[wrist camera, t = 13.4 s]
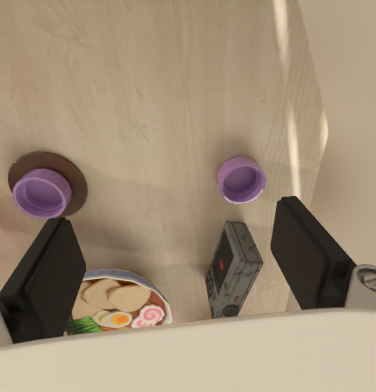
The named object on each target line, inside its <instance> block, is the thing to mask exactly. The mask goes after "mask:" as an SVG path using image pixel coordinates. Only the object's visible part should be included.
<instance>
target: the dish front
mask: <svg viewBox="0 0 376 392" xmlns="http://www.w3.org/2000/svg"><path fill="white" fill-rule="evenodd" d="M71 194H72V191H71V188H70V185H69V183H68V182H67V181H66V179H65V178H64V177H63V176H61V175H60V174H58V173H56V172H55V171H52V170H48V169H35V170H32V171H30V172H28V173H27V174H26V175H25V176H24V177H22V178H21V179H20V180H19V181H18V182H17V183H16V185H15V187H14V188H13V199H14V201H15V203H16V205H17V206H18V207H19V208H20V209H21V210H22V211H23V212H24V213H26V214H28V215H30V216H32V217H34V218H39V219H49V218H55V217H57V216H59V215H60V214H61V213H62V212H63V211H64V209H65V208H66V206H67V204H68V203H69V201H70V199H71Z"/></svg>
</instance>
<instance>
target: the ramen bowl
mask: <svg viewBox="0 0 376 392" xmlns="http://www.w3.org/2000/svg"><path fill="white" fill-rule="evenodd" d="M172 321H173V319H172V315H171V310H170V306H169V304H168V302H167V300H166V299H165V297H164V296H163V295H162V294H161V293H160V292H159V291H158V290H157V289H156V287H155V286H154V285H153V284H152V283H151V282H150V281H149V280H147V279H146V278H144V277H142V276H140V275H138V274H135V273H133V272H131V271H127V270H120V269H114V268H106V269H99V270H91V271H88V272H86V273H85V275H84V278H83V280H82V283H81V286H80V289H79V292H78V295H77V298H76V301H75V304H74V307H73V309H72V312H71V315H70V318H69V321H68V324H67V327H66V330H65V333H64V336H70V335H78V334H86V333H95V332H103V331H112V330H120V329H129V328H138V327H146V326H155V325H164V324H171V323H172Z"/></svg>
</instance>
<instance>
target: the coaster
mask: <svg viewBox="0 0 376 392" xmlns="http://www.w3.org/2000/svg"><path fill="white" fill-rule="evenodd" d="M35 169H48V170H52V171H55V172H56V173H58V174H60V175H61V176H63V177H64V178H65V179H66V181H67V182H68V183H69V185H70V188H71V191H72V194H71V199H70V201H69V203H68V204H67V206H66V208H65V209H64V211H63V212H62V213H61V214H60V215H59V216H57V217H65V216H69V215H71V214H73V213H75V212H77V211H78V210H79V209H80V208H81V207H82V206H83V204H84V203H85V201H86V198H87V193H88V188H87V183H86V180H85V178H84V176H83V174H82V173H81V171H80V170H79V169H78V168H77V167H76V166H75V165H74V164H73V163H71V162H70V161H69V160H67V159H65V158H63V157H61V156H59V155H56V154H53V153H48V152H33V153H29V154H26V155H24V156H22V157H20V158H19V159H17V160H16V161H15V162H14V163H13V165H12V166H11V168H10V170H9V174H8V183H9V187H10V189H11V191H12V193H13V188H14V187H15V185H16V183H17V182H18V181H19V180H20V179H21V178H22V177H24V176H25V175H26V174H27V173H28V172H30V171H32V170H35Z"/></svg>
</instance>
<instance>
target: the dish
mask: <svg viewBox="0 0 376 392" xmlns="http://www.w3.org/2000/svg"><path fill="white" fill-rule="evenodd" d="M265 181H266V178H265V175H264V173H263V171H262V170H261V168H260V167H259V166H258V164H257V163H256V162H254V161H253V160H252V159H251V158H248V157H244V156H242V157H234V158H232V159H230V160H228V161H226V162H225V163H224V164H223V165H222V166H221V167H220V169H219V171H218V173H217V184H218V187H219V189H220V192H221V194H222V196H223V198H225V199H226V200H227V201H228V202H230V203H234V204H246V203H249V202H251V201H253V200H255V199H256V198H257V197H258V196H259V195H260V194H261V193H262V191H263V189H264V187H265Z"/></svg>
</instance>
